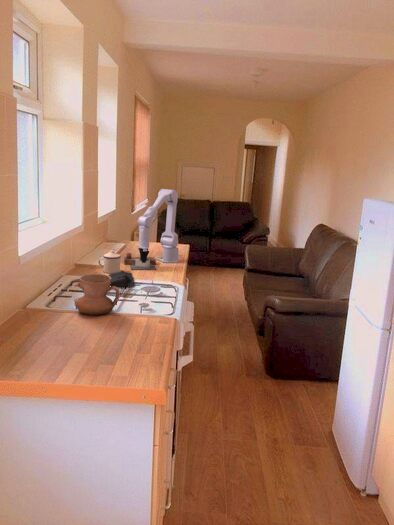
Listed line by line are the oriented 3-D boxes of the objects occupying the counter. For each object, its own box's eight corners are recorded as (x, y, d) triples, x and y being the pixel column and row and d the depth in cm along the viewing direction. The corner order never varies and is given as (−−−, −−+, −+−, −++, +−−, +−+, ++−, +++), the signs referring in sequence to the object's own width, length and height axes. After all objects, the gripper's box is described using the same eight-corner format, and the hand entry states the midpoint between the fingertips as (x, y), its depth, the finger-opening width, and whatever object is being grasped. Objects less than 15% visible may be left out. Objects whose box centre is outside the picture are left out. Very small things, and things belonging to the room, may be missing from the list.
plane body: (154, 262, 271) (154, 252, 270) (155, 265, 264) (156, 255, 262) (123, 261, 268) (124, 251, 266) (124, 264, 260) (124, 254, 259)
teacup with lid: (122, 270, 247) (122, 249, 244) (118, 274, 238) (118, 252, 235) (100, 268, 248) (100, 248, 245) (95, 272, 239) (96, 251, 236)
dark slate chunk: (136, 277, 236) (136, 268, 235) (133, 289, 215) (134, 279, 214) (106, 276, 235) (106, 267, 234) (101, 288, 213) (101, 278, 212)
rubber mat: (154, 266, 261) (154, 265, 260) (156, 270, 252) (156, 269, 252) (130, 266, 258) (130, 265, 258) (131, 269, 249) (131, 268, 249)
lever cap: (148, 265, 259) (149, 257, 258) (149, 267, 254) (149, 259, 253) (134, 265, 257) (135, 257, 256) (135, 267, 253) (135, 259, 252)
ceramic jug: (67, 316, 172) (68, 280, 169) (79, 304, 187) (80, 271, 183) (114, 320, 172) (115, 284, 169) (122, 308, 186) (123, 275, 183)
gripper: (136, 235, 257) (135, 258, 260) (138, 239, 243) (137, 264, 246) (148, 236, 259) (147, 259, 261) (151, 240, 245) (150, 264, 247)
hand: (143, 261), depth 254 cm, fingers open, 5 cm apart
